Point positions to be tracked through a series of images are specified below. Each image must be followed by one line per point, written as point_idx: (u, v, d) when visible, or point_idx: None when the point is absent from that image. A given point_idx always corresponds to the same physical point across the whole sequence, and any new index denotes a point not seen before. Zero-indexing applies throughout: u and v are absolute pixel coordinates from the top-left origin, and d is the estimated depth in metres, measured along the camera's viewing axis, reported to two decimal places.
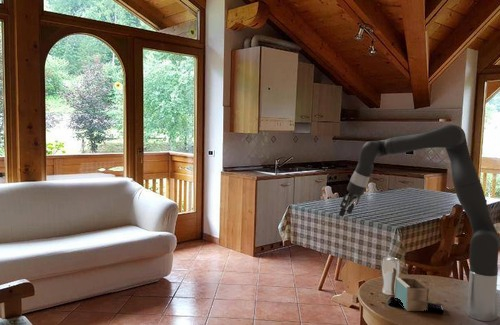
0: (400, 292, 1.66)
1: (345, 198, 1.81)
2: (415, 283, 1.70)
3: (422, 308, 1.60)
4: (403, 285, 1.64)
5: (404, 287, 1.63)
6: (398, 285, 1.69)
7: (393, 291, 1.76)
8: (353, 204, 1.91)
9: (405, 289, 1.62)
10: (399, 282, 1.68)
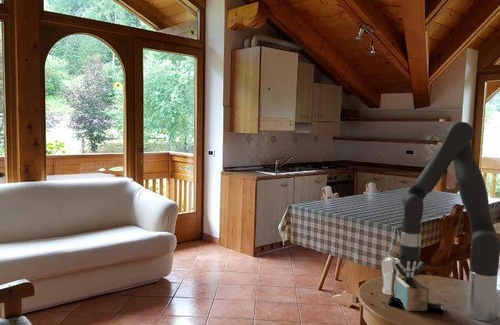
0: (400, 292, 1.66)
1: (395, 266, 1.65)
2: (415, 283, 1.70)
3: (422, 308, 1.60)
4: (403, 285, 1.64)
5: (404, 287, 1.63)
6: (398, 285, 1.69)
7: (393, 291, 1.76)
8: None
9: (405, 289, 1.62)
10: (399, 282, 1.68)
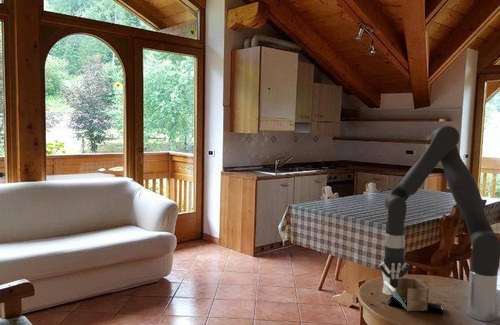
0: (394, 295, 1.66)
1: (380, 268, 1.65)
2: (415, 283, 1.70)
3: (422, 308, 1.60)
4: (390, 289, 1.64)
5: (392, 291, 1.63)
6: (388, 288, 1.69)
7: None
8: (396, 275, 1.65)
9: (393, 293, 1.62)
10: (387, 286, 1.67)
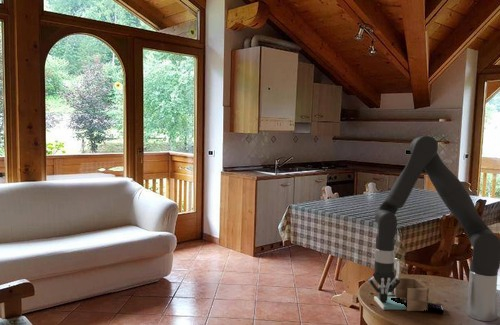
0: None
1: None
2: (415, 283, 1.70)
3: (422, 308, 1.60)
4: None
5: None
6: None
7: (393, 291, 1.76)
8: None
9: None
10: None
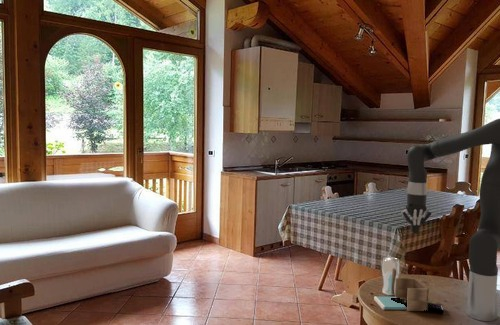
0: None
1: (402, 215, 1.74)
2: (415, 283, 1.70)
3: (422, 308, 1.60)
4: None
5: None
6: None
7: (393, 291, 1.76)
8: None
9: None
10: None
